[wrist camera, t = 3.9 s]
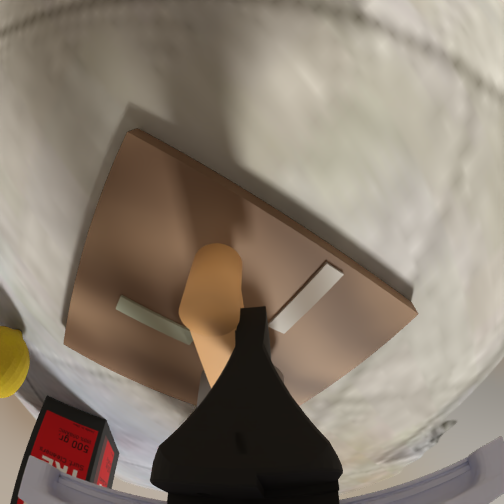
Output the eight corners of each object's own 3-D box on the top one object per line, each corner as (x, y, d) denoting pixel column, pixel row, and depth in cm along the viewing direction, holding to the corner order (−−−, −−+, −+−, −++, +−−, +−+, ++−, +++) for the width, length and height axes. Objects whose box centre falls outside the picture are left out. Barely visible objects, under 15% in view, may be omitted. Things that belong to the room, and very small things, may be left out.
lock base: (265, 414, 24) (266, 439, 22) (69, 333, 19) (56, 358, 16) (411, 302, 17) (427, 330, 15) (137, 128, 11) (111, 137, 9)
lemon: (41, 329, 19) (2, 401, 12) (42, 358, 21) (12, 420, 15) (-3, 298, 17) (-47, 360, 11) (2, 331, 20) (-31, 387, 13)
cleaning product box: (47, 395, 26) (7, 517, 9) (106, 419, 27) (76, 553, 10) (73, 436, 34) (50, 526, 17) (119, 453, 36) (101, 547, 18)
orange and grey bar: (284, 398, 17) (287, 437, 15) (210, 401, 17) (206, 439, 15) (278, 238, 11) (286, 286, 8) (154, 248, 11) (129, 295, 9)
